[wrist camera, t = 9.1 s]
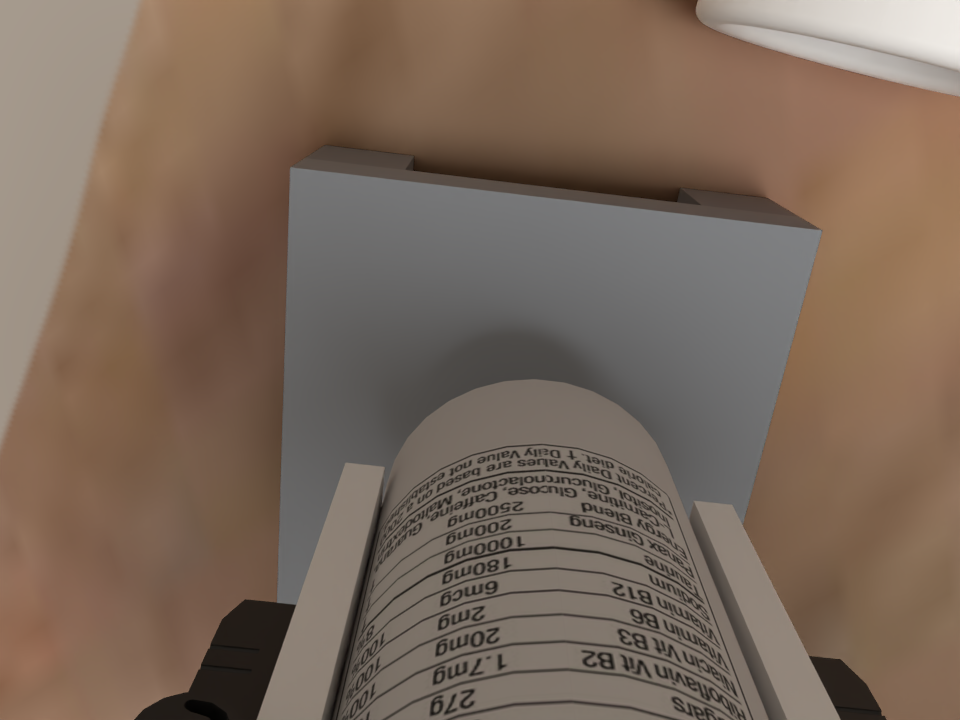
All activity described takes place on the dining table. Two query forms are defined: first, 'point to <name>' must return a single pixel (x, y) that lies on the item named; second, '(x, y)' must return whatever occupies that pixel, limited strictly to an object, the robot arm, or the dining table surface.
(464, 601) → the energy drink can
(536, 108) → the dining table surface
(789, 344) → the stand
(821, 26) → the mug
